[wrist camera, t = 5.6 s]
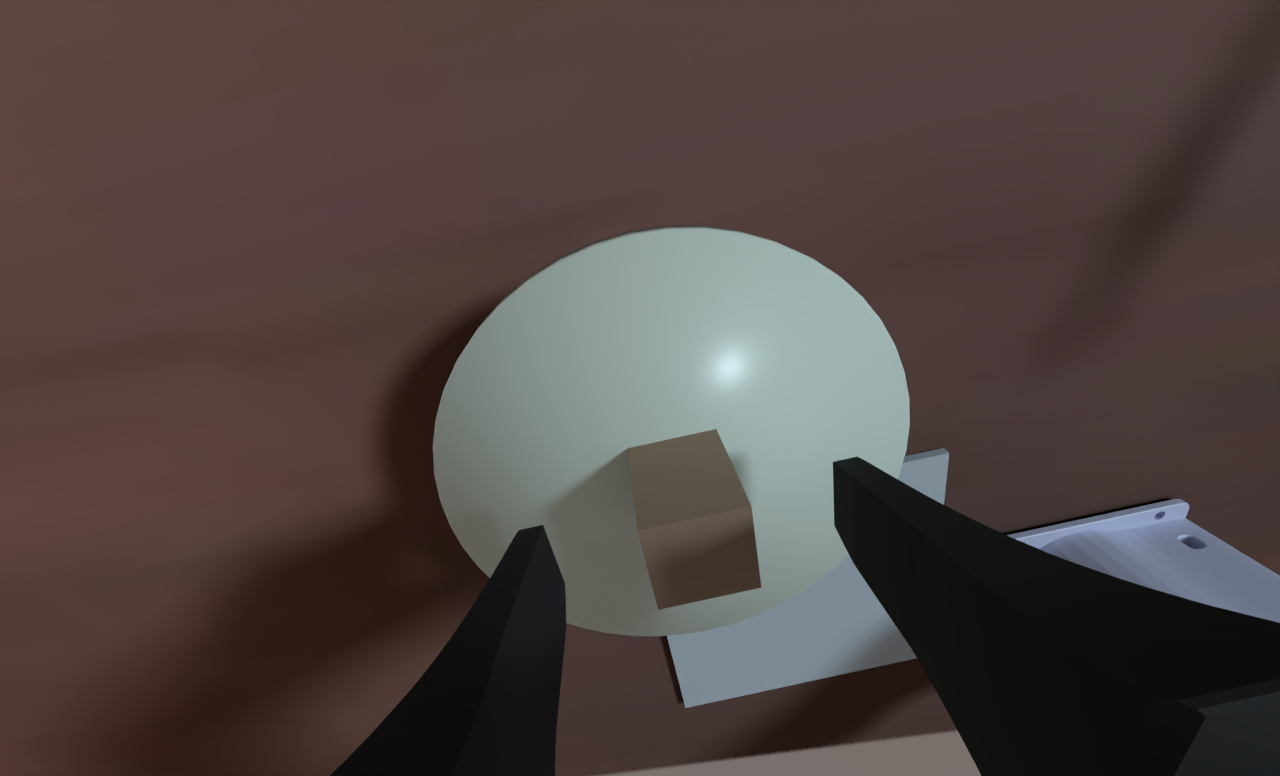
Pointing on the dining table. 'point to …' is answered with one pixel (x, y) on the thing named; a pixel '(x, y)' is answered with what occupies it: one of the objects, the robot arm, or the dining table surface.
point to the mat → (803, 626)
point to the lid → (669, 425)
